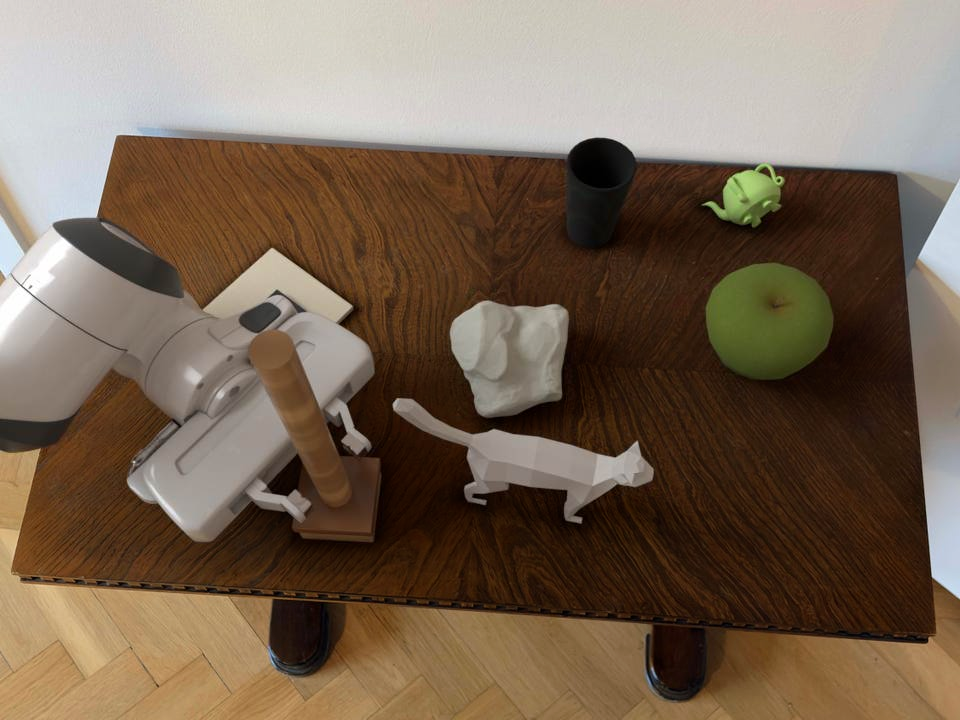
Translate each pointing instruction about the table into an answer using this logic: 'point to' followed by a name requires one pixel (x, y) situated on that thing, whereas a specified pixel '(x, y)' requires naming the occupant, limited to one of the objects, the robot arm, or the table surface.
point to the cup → (597, 189)
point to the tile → (281, 276)
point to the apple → (768, 320)
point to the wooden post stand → (317, 448)
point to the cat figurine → (534, 462)
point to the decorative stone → (511, 355)
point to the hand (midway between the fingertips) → (336, 482)
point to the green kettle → (749, 196)
